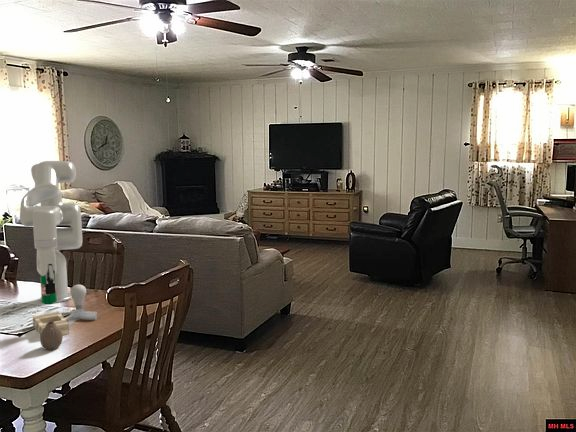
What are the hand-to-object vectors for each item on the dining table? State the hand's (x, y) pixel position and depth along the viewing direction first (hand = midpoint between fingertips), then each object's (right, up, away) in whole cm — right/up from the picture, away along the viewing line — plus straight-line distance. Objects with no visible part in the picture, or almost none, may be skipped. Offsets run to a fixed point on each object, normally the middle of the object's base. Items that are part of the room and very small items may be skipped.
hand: (48, 291), depth 187 cm
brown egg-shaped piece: (+8, -17, -15) cm, 24 cm away
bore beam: (0, -15, +2) cm, 15 cm away
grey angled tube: (+6, -13, +13) cm, 19 cm away
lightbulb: (+2, -12, +24) cm, 26 cm away
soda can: (0, -5, +1) cm, 5 cm away
